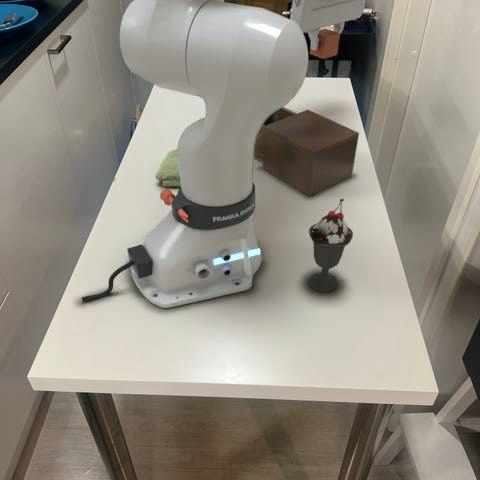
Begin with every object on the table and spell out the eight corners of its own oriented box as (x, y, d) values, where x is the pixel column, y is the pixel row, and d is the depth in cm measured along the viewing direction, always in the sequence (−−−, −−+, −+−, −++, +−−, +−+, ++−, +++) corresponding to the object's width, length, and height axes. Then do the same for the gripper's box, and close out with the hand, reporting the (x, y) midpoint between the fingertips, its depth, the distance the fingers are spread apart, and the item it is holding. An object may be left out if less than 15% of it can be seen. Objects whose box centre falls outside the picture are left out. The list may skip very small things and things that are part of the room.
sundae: (342, 270, 84) (356, 193, 74) (344, 297, 80) (359, 218, 69) (303, 268, 85) (311, 191, 74) (303, 295, 80) (312, 216, 70)
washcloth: (167, 157, 112) (165, 143, 110) (244, 160, 111) (244, 146, 109) (155, 188, 103) (152, 174, 101) (239, 191, 102) (239, 177, 100)
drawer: (227, 142, 115) (226, 108, 110) (263, 128, 120) (264, 95, 115) (278, 171, 106) (279, 136, 100) (315, 155, 111) (319, 120, 105)
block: (323, 59, 113) (326, 37, 109) (309, 54, 115) (311, 32, 112) (337, 54, 115) (340, 33, 111) (323, 49, 117) (325, 28, 114)
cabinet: (262, 168, 109) (263, 126, 102) (304, 151, 114) (307, 109, 107) (309, 196, 101) (314, 152, 94) (351, 176, 106) (359, 132, 99)
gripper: (307, -16, 97) (301, 60, 107) (375, -30, 106) (364, 41, 116) (285, -22, 101) (281, 52, 111) (353, -35, 110) (344, 34, 120)
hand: (324, 46), depth 114 cm, fingers closed on block, 4 cm apart
